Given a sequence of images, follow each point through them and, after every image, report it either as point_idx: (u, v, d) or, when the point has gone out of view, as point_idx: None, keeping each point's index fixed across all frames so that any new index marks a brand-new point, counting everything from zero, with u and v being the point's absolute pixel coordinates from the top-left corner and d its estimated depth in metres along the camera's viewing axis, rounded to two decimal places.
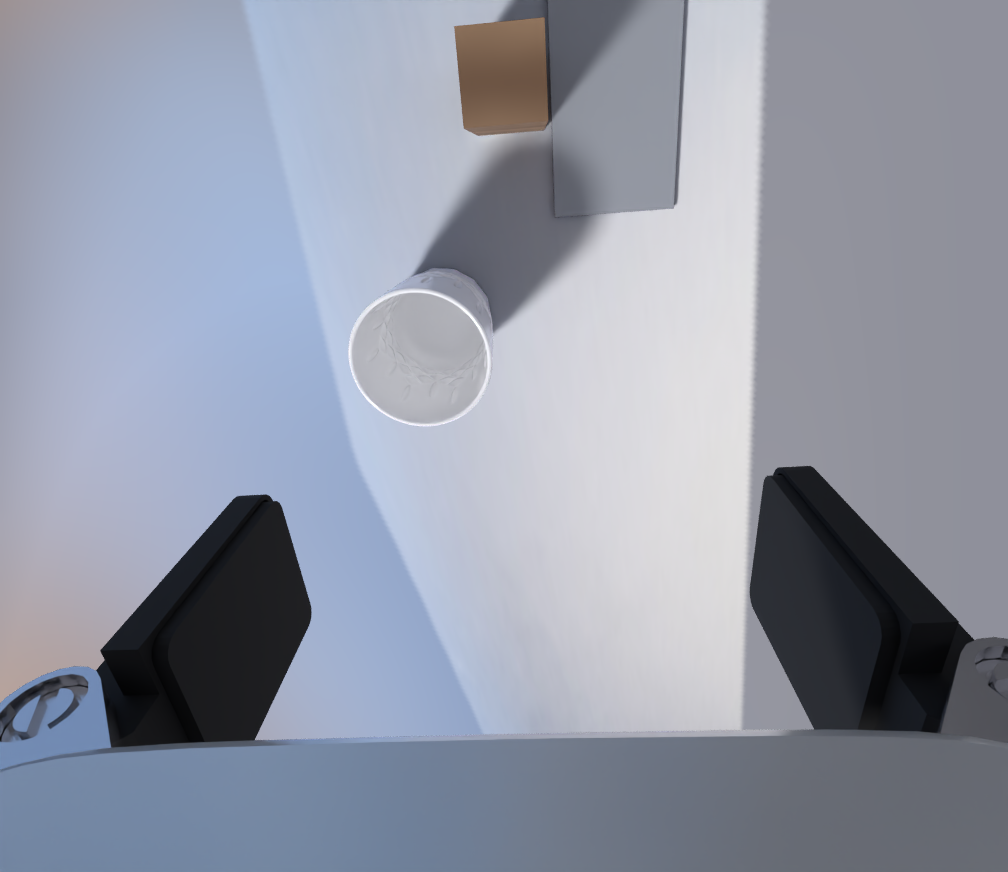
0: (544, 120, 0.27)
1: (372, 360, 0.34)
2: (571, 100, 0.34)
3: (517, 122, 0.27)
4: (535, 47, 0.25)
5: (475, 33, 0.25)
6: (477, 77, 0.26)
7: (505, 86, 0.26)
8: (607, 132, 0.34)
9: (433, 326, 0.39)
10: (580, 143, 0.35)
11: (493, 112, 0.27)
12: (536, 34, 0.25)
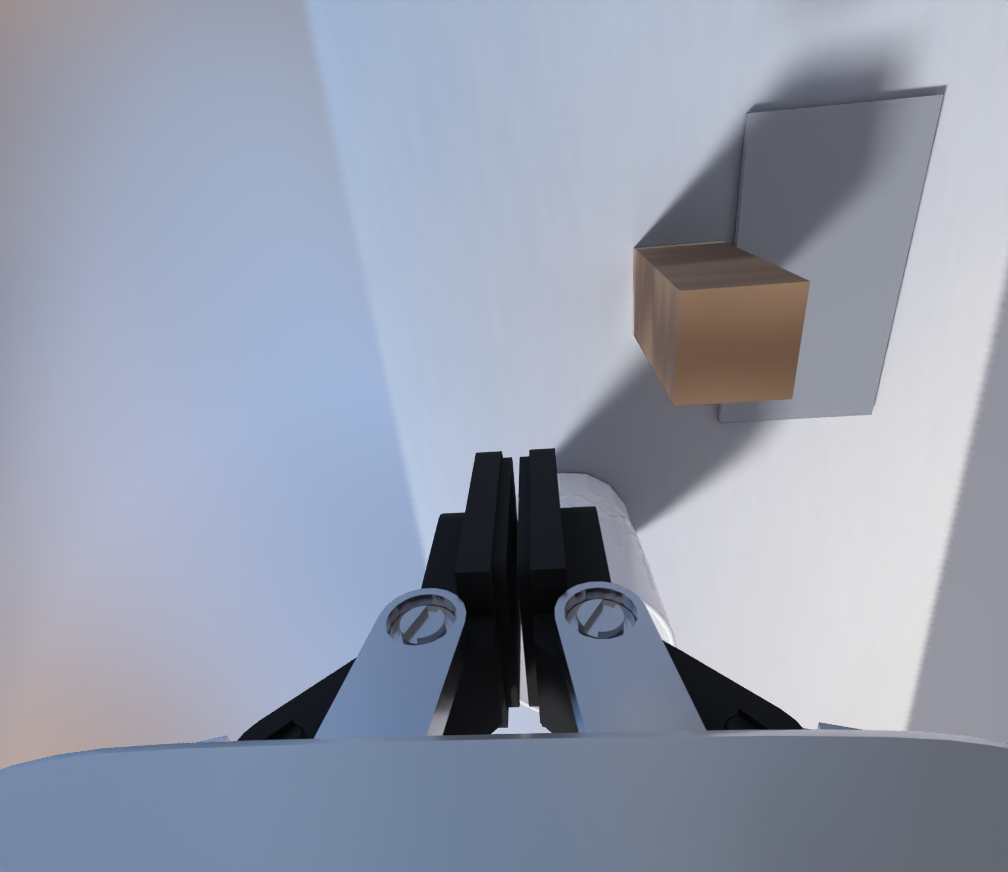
0: (786, 398, 0.20)
1: None
2: None
3: (749, 400, 0.20)
4: (790, 316, 0.18)
5: (708, 299, 0.18)
6: (702, 349, 0.19)
7: (739, 360, 0.19)
8: None
9: None
10: None
11: (717, 389, 0.19)
12: (794, 301, 0.18)
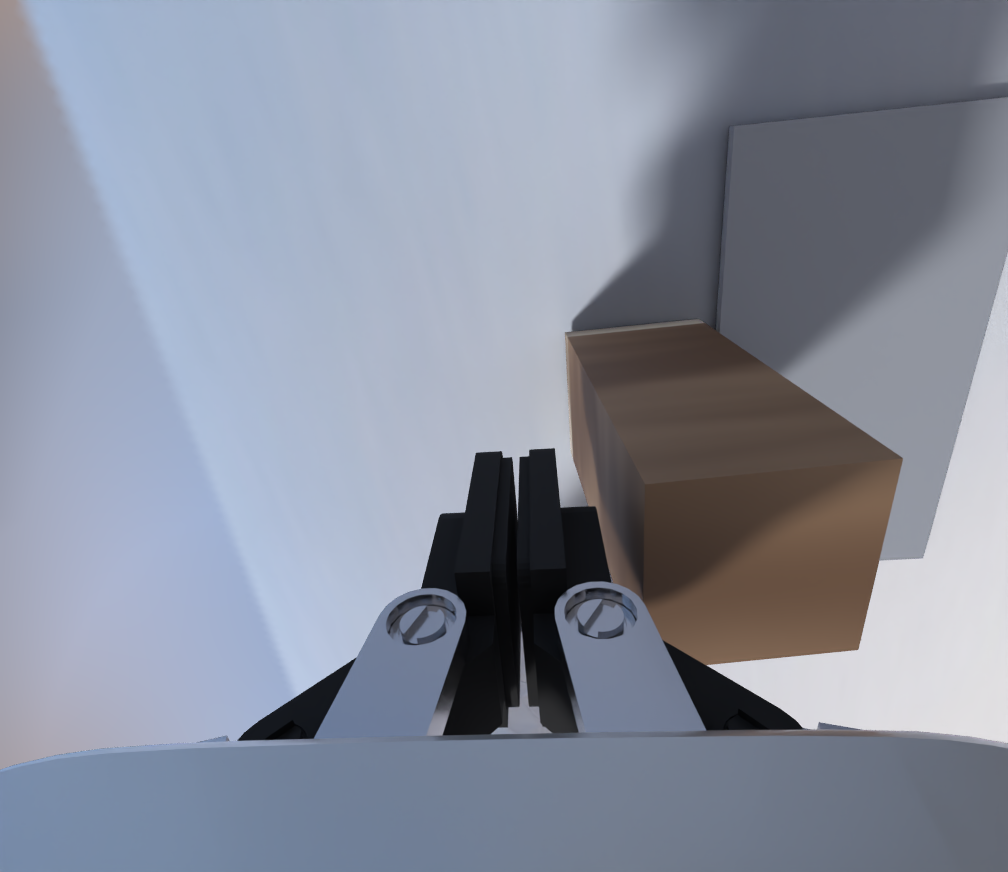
0: (847, 647, 0.10)
1: None
2: None
3: (780, 656, 0.10)
4: (861, 519, 0.09)
5: (702, 497, 0.09)
6: (692, 581, 0.10)
7: (763, 595, 0.10)
8: None
9: None
10: None
11: (723, 641, 0.10)
12: (871, 493, 0.09)
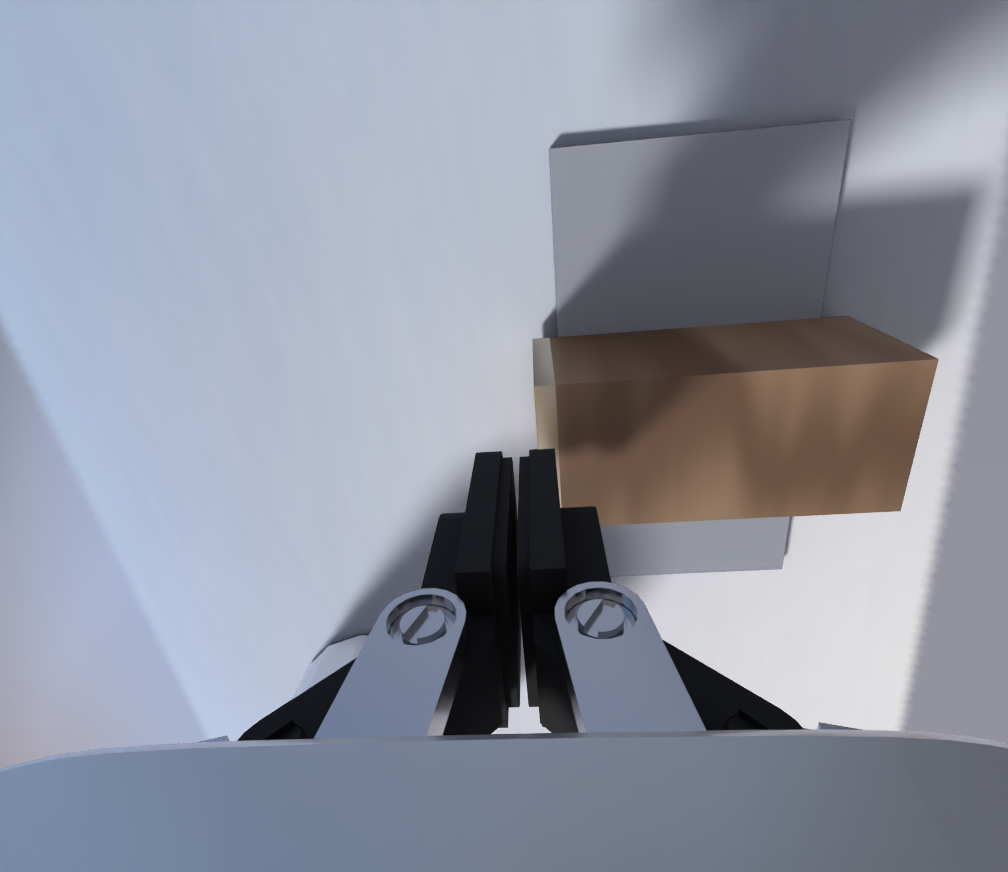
0: None
1: None
2: None
3: None
4: None
5: None
6: None
7: None
8: None
9: None
10: None
11: None
12: None
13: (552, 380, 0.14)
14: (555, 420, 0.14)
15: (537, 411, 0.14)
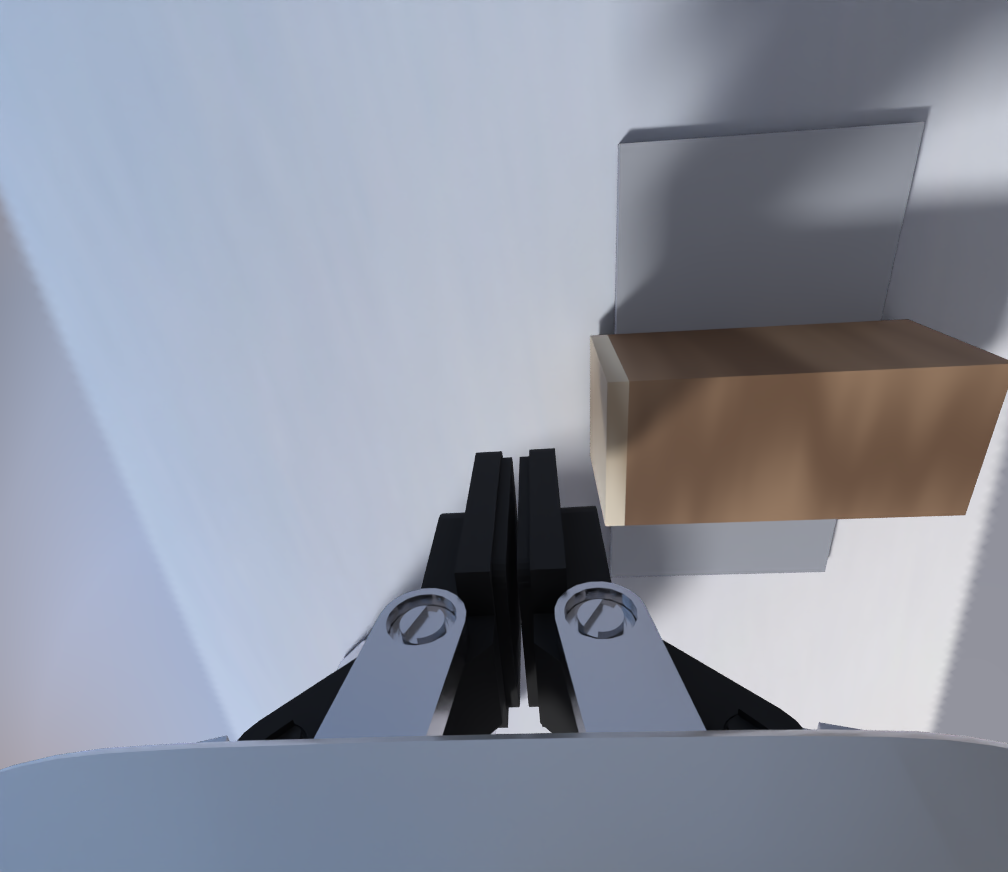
0: None
1: None
2: None
3: None
4: None
5: None
6: None
7: None
8: None
9: None
10: None
11: None
12: None
13: (624, 376, 0.13)
14: (626, 417, 0.14)
15: (609, 407, 0.13)
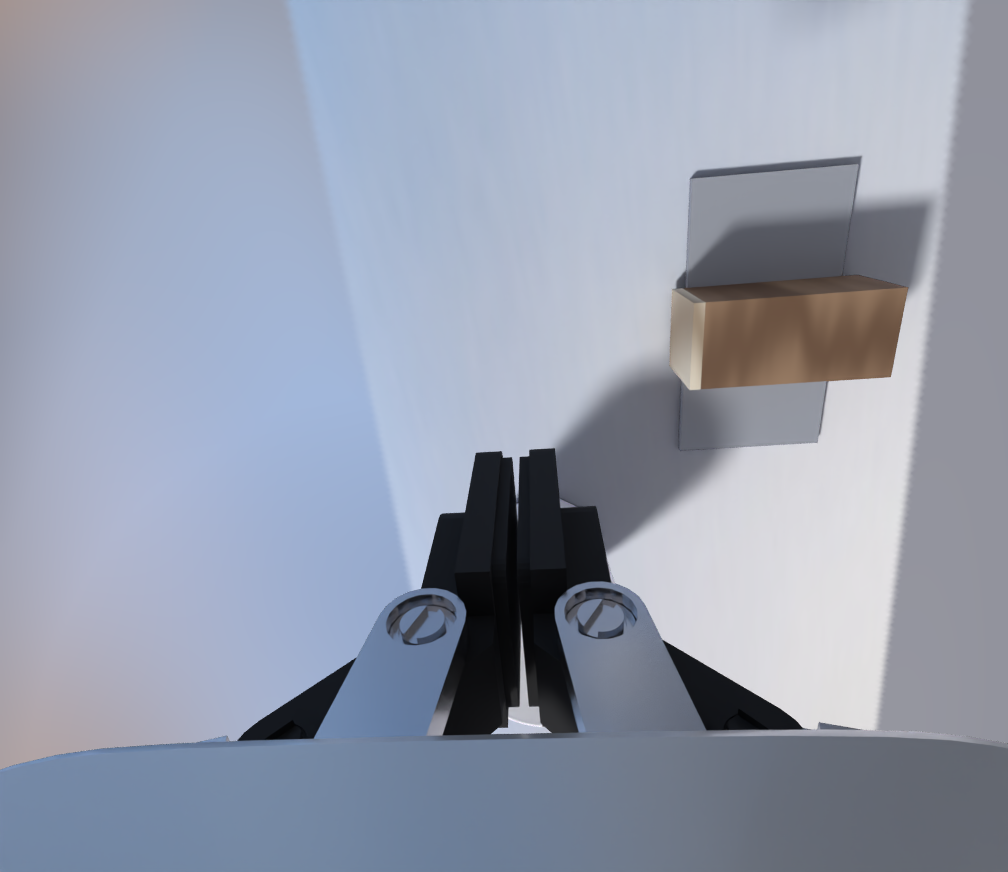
0: None
1: None
2: None
3: None
4: None
5: None
6: None
7: None
8: None
9: None
10: None
11: None
12: None
13: (701, 301, 0.25)
14: (703, 323, 0.25)
15: (694, 317, 0.25)
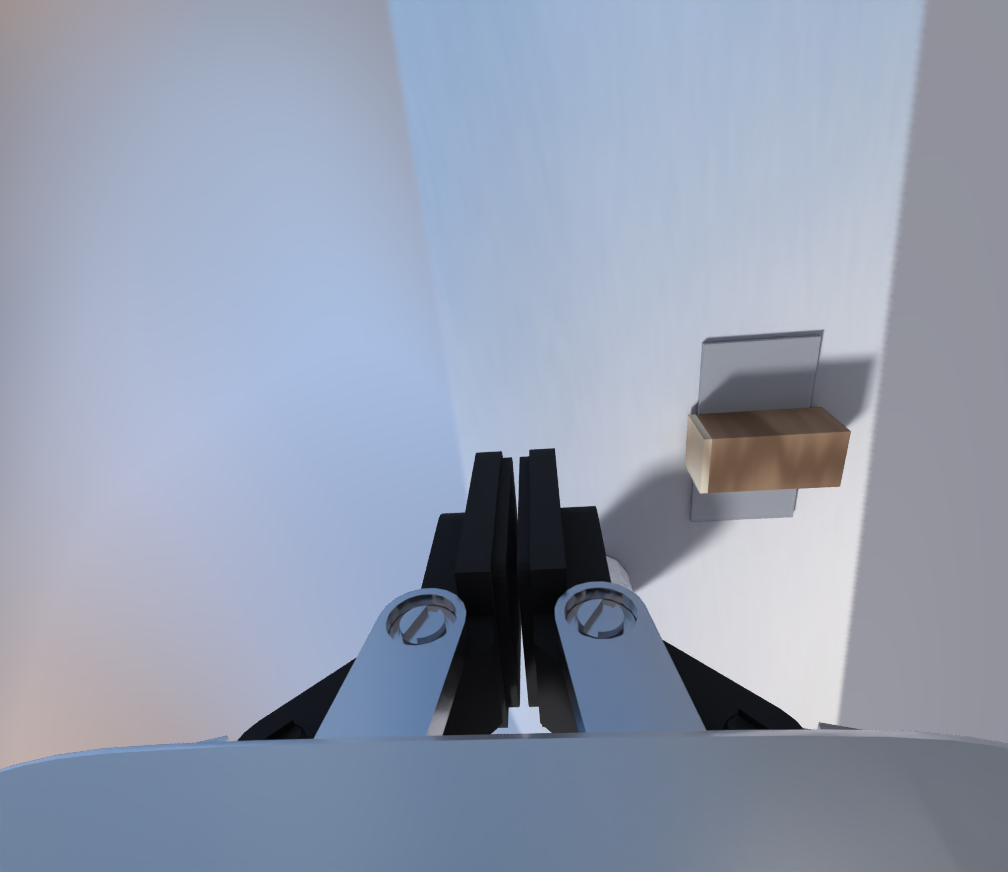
0: None
1: None
2: None
3: None
4: None
5: None
6: None
7: None
8: None
9: None
10: None
11: None
12: None
13: (709, 437, 0.36)
14: (710, 451, 0.36)
15: (704, 448, 0.36)
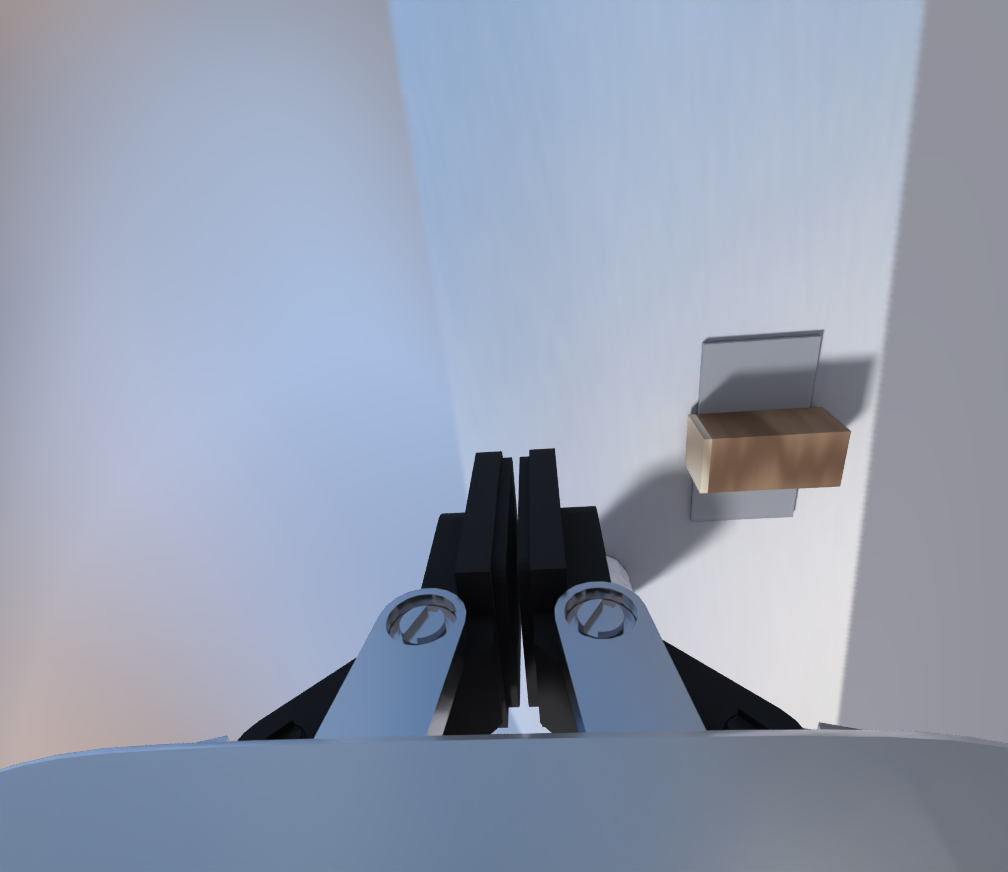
0: None
1: None
2: None
3: None
4: None
5: None
6: None
7: None
8: None
9: None
10: None
11: None
12: None
13: (709, 436, 0.36)
14: (710, 451, 0.36)
15: (704, 448, 0.36)
